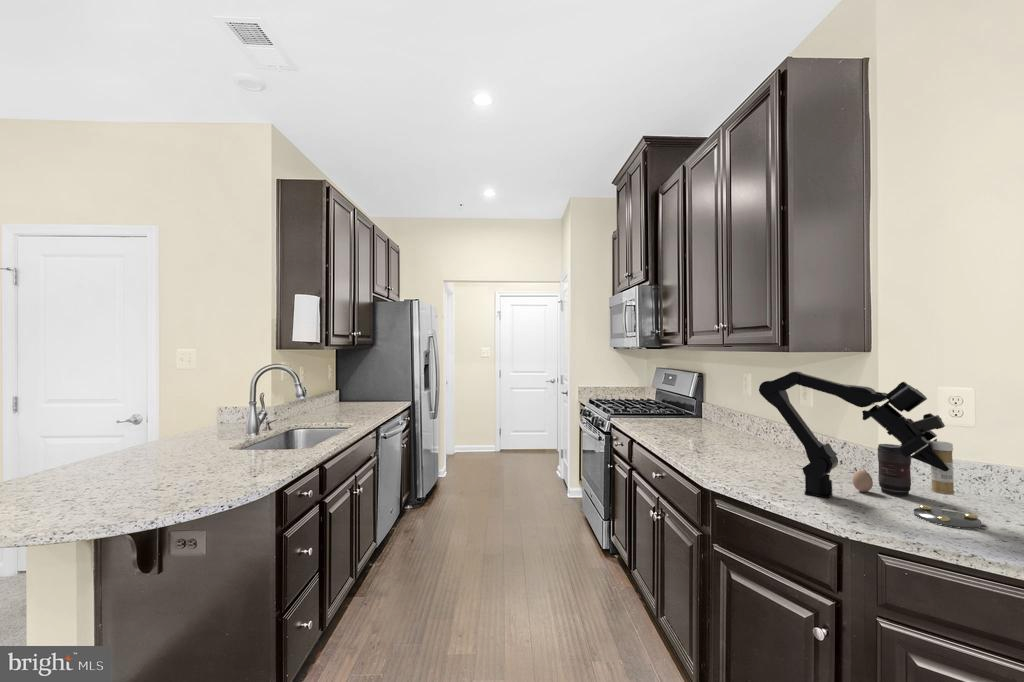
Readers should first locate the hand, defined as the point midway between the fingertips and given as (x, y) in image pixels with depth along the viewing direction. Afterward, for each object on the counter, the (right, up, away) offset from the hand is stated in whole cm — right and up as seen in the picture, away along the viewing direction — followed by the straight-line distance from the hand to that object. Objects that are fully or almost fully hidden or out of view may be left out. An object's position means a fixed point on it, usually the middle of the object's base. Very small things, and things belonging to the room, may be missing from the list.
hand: (948, 468), depth 120 cm
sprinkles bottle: (-1, -7, +1) cm, 7 cm away
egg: (-4, -15, +25) cm, 29 cm away
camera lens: (+5, -14, +23) cm, 28 cm away
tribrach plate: (0, -14, 0) cm, 14 cm away
